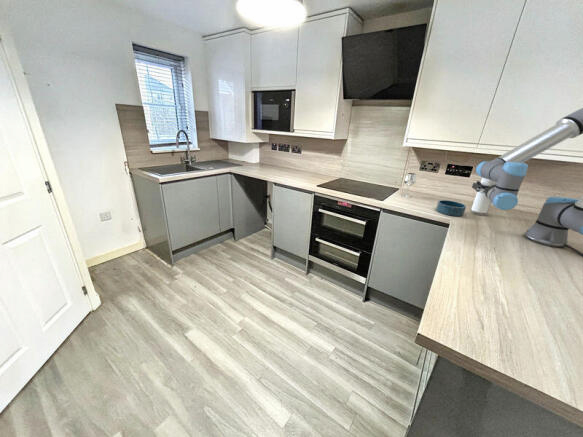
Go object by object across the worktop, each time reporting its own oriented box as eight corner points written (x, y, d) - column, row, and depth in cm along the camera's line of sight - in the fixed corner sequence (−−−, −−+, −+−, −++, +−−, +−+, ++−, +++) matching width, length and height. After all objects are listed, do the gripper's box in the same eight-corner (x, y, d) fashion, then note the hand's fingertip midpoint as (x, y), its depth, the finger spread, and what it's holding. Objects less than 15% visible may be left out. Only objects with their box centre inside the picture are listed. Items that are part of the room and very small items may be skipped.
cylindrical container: (490, 213, 127) (508, 166, 117) (477, 212, 127) (494, 166, 117) (480, 208, 133) (496, 164, 124) (468, 208, 133) (483, 163, 124)
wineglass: (402, 194, 194) (407, 172, 187) (413, 196, 189) (418, 173, 182) (399, 195, 188) (404, 173, 181) (410, 198, 183) (415, 175, 176)
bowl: (469, 217, 149) (472, 208, 146) (445, 216, 148) (448, 207, 146) (452, 208, 163) (455, 200, 161) (430, 208, 162) (433, 199, 160)
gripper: (468, 198, 115) (462, 188, 134) (521, 205, 107) (506, 193, 126) (473, 183, 113) (466, 175, 132) (528, 189, 104) (511, 179, 123)
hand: (485, 184), depth 129 cm, fingers closed on cylindrical container, 7 cm apart
